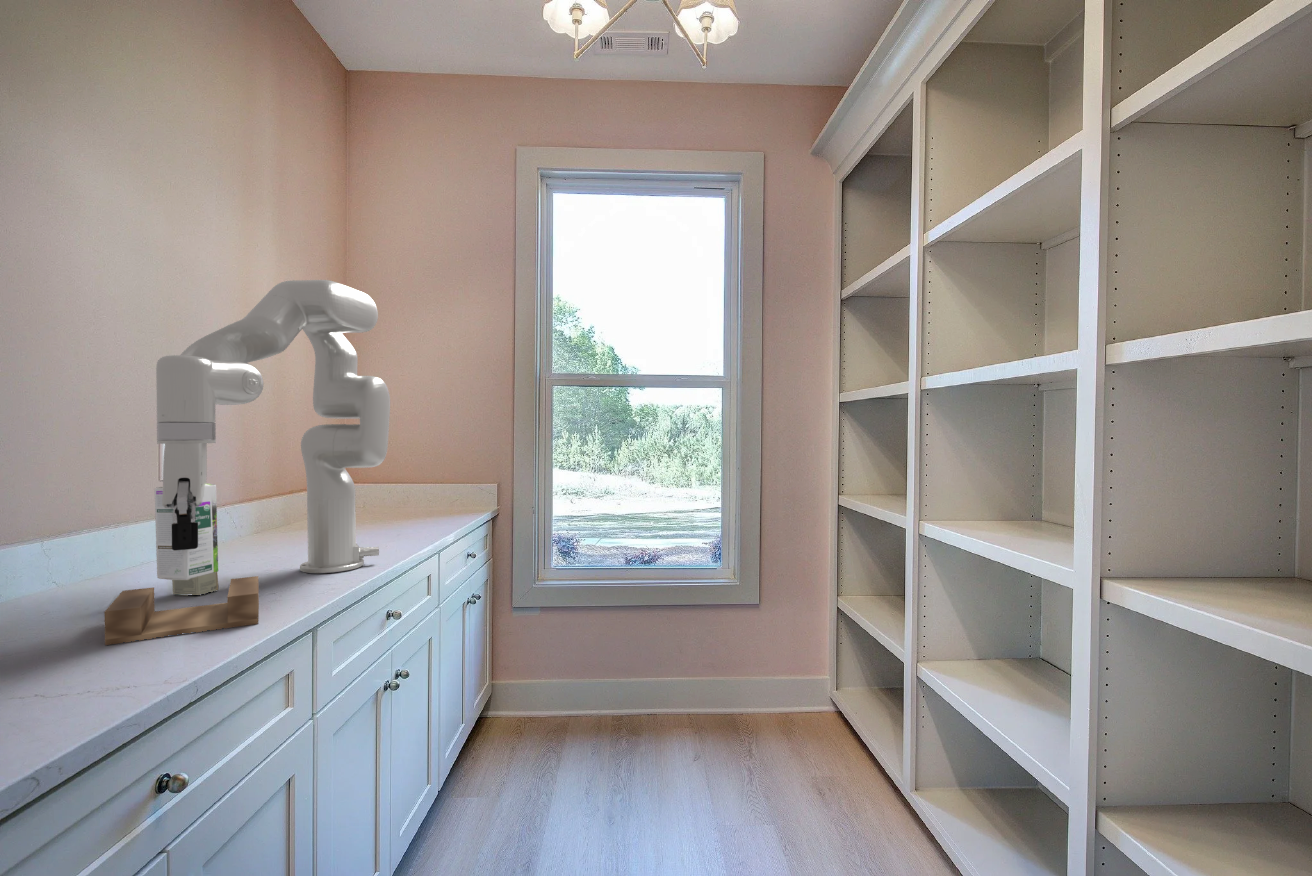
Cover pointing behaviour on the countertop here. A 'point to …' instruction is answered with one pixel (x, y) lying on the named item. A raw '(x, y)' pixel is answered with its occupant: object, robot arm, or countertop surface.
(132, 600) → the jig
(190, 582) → the skincare box
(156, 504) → the syrup box
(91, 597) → the countertop surface
